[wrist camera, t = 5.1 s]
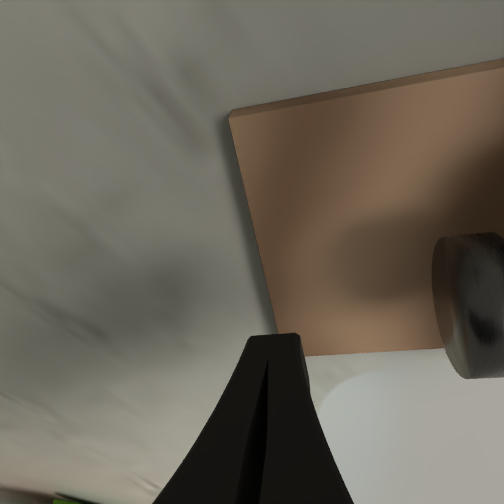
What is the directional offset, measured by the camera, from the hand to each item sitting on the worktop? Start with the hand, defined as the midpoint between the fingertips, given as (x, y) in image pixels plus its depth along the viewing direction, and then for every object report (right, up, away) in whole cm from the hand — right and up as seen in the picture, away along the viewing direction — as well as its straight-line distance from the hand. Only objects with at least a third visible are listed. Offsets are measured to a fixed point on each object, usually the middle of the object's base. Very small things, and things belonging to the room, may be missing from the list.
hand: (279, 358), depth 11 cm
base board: (+8, +4, +3) cm, 9 cm away
